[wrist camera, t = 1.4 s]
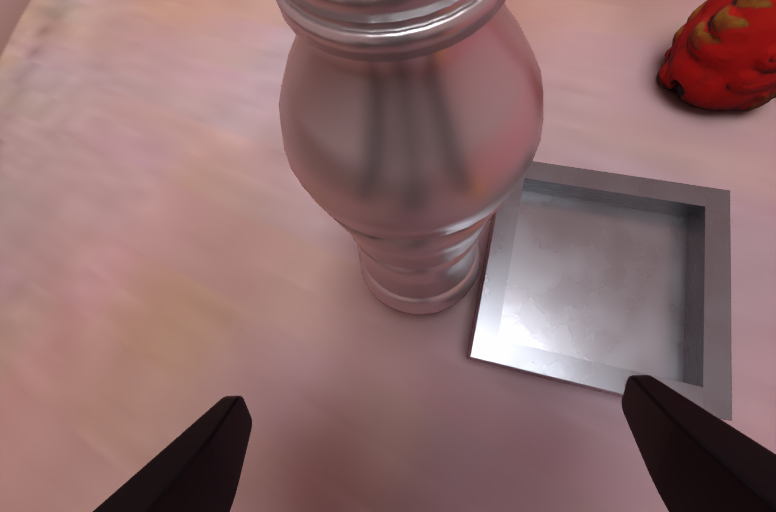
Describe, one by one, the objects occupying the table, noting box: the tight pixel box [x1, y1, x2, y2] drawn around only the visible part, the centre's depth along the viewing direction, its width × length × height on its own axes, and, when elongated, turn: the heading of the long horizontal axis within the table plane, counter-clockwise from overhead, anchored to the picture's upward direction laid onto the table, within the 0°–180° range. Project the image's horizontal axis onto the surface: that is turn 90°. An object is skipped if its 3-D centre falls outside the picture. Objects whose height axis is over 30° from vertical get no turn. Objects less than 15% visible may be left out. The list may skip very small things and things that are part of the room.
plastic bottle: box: [276, 0, 543, 314], centre depth 14 cm, size 6×7×20 cm
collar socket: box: [467, 161, 732, 421], centre depth 21 cm, size 12×12×2 cm
